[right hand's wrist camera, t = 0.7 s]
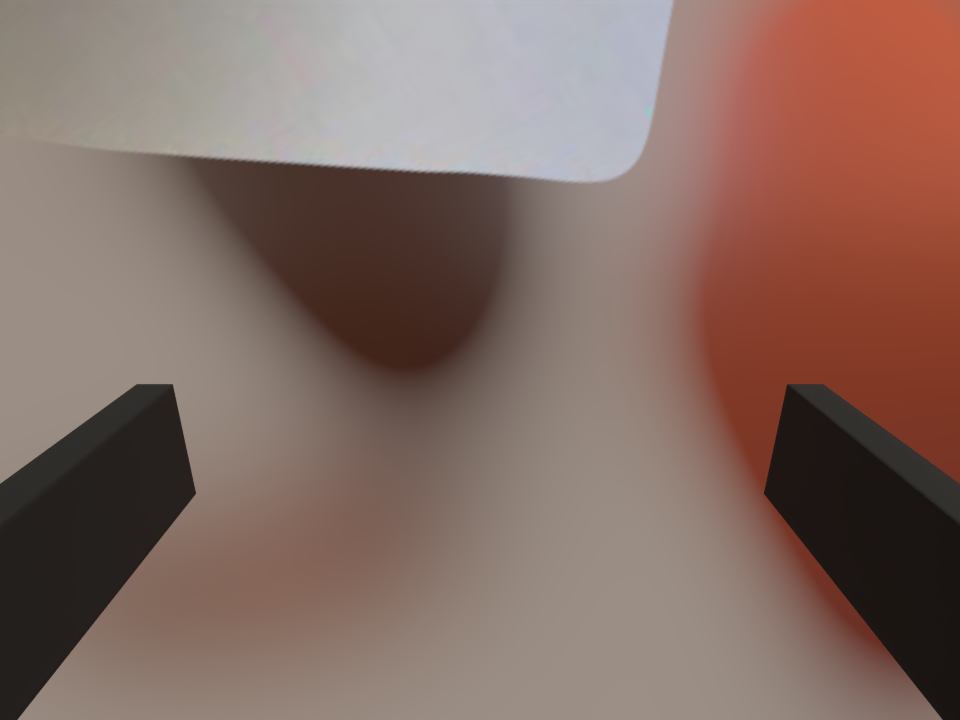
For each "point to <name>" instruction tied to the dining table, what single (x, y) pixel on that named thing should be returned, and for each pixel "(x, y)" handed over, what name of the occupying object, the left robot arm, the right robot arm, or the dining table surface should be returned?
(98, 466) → the right robot arm
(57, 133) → the dining table surface
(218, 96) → the dining table surface
